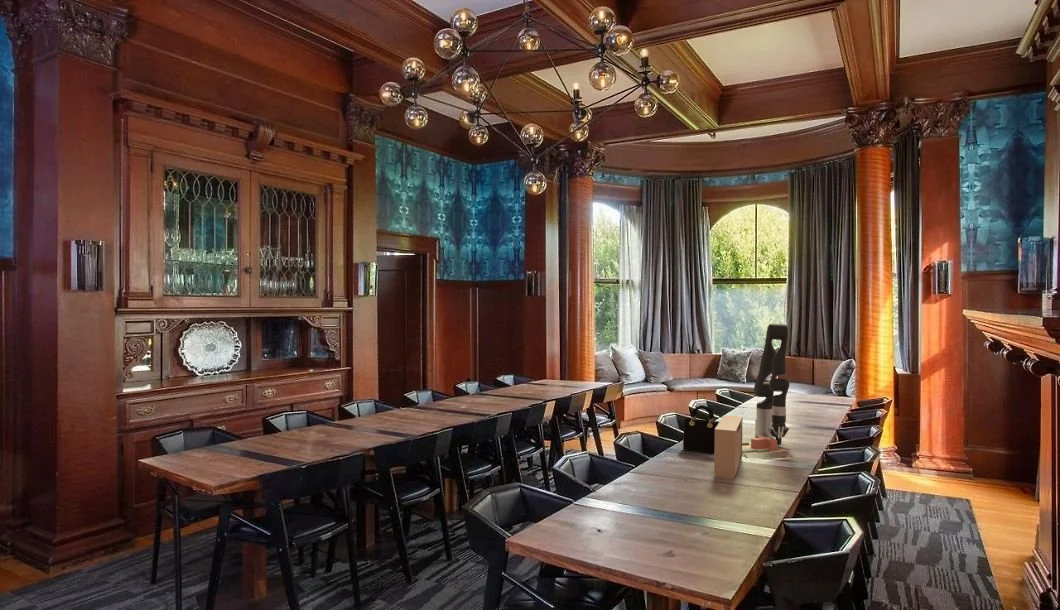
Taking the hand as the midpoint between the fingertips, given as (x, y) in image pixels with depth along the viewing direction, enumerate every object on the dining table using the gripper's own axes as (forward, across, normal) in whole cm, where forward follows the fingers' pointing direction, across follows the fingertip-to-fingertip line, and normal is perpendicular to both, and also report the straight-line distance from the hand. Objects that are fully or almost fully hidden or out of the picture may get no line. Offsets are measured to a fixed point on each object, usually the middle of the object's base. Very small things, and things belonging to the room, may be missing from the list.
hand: (778, 444), depth 359 cm
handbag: (+2, +46, -7) cm, 46 cm away
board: (+2, +17, -1) cm, 17 cm away
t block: (+1, +12, 0) cm, 12 cm away
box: (+2, +53, +27) cm, 60 cm away
